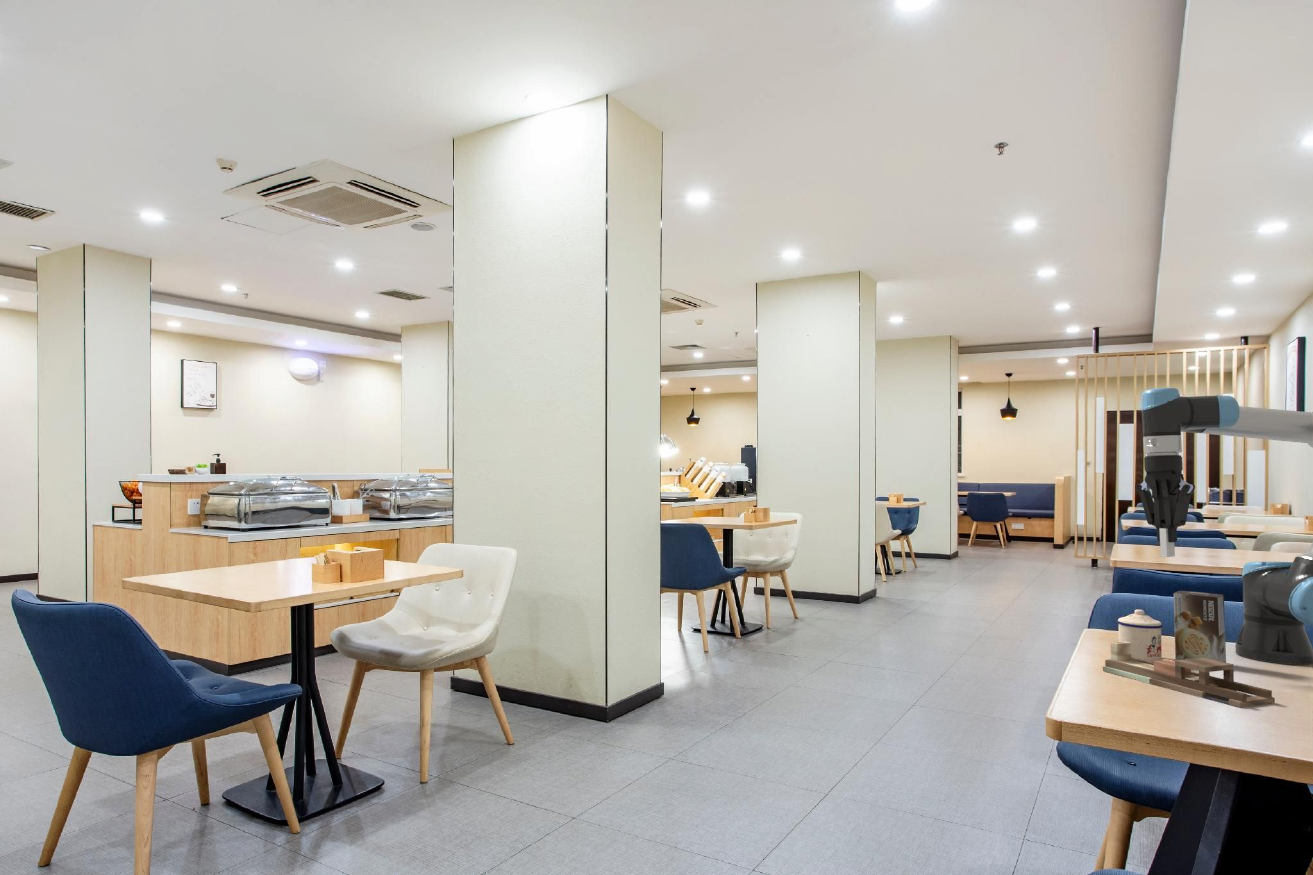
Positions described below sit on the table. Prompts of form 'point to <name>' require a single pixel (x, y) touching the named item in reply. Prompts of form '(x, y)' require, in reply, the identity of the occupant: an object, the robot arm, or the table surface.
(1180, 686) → the tunnel board
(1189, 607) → the coffee box
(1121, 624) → the teacup with lid
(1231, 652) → the table surface
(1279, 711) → the table surface
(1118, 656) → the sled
